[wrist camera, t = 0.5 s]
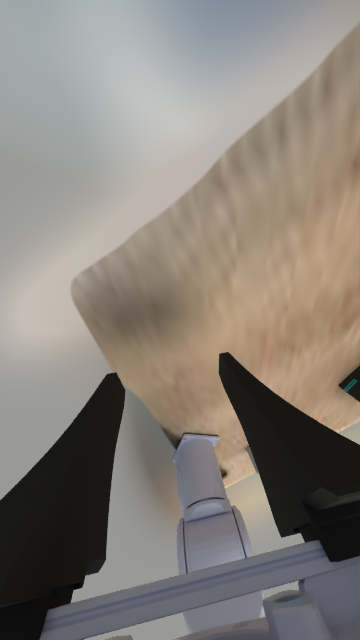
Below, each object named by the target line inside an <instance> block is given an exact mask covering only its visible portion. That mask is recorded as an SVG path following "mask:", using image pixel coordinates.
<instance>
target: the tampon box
mask: <svg viewBox="0 0 360 640" xmlns="http://www.w3.org/2000/svg"><path fill="white" fill-rule="evenodd" d="M339 386H340V387H341V388H342V389H343V390H344V391H346V392H347V393H348V394H350V395H351V396H352V397H354V398H355V399H356V400H358V401H359V402H360V367H359V368H358V369H357V370H356V371H355V372H353V373H352V374H351V375H350V376H349V377H348V378H347V379H346V380H345V381H344V382H343V383H342V384H340V385H339Z"/></svg>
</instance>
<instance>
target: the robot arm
mask: <svg viewBox="0 0 360 640" xmlns="http://www.w3.org/2000/svg"><path fill="white" fill-rule="evenodd" d="M219 375H220V378H221V381H222V384H223V387H224V389H225V391H226V393H227V395H228V398H229V400H230V402H231V404H232V406H233V408H234V410H235V412H236V414H237V417H238V419H239V421H240V423H241V425H242V428H243V431H244V433H245V436H246V438H247V441H248V444H249V447H250V449H251V452H252V455H253V458H254V460H255V463H256V466H257V469H258V472H259V475H260V478H261V480H262V483H263V486H264V489H265V493H266V496H267V499H268V502H269V505H270V508H271V511H272V514H273V517H274V520H275V523H276V526H277V528H278V531H279V533H280V535H281V537H286V536H290V535H294V534H298V533H301V534H302V536H303V539H304V541H305V543H302V544H298V545H294V546H291V547H287V548H283V549H279V550H275V551H271V552H267V553H263V554H259V555H256V556H254V554H253V550H252V546H251V543H250V540H249V536H248V533H247V530H246V526H245V523H244V521H243V518H242V515H241V513H240V511H239V510H238V509H237V508H236V507H235V506H231V505H230V501H229V499H227V495H226V492H225V488H224V484H223V480H222V476H221V473H220V469H219V465H218V462H217V458H216V454H215V450H214V448H215V446H216V445H217V443H218V441H219V440H220V438H219V436H208V435H195V434H184V435H183V437H182V440H181V442H180V444H179V446H178V448H177V450H176V452H175V454H174V456H173V458H172V462H173V463H176V467H177V468H176V469H177V481H178V482H177V483H178V497H179V504H180V507H181V509H182V511H183V515H184V518H181V519H180V522H179V524H178V527H177V556H178V569H179V575H178V576H175V577H171V578H167V579H163V580H159V581H155V582H152V583H148V584H144V585H140V586H136V587H132V588H129V589H125V590H120V591H117V592H113V593H109V594H105V595H101V596H97V597H93V598H89V599H86V600H82V601H78V602H74V603H71V598H72V594H73V590H76V589H80V588H82V587H83V584H84V579H85V576H86V575H90V574H94V573H98V572H99V570H100V569H101V567H102V566H103V564H104V562H105V560H106V545H107V528H108V513H109V502H110V490H111V480H112V471H113V463H114V455H115V448H116V443H117V438H118V433H119V429H120V424H121V419H122V413H123V409H124V401H125V389H124V387H123V385H122V383H121V381H120V379H119V377H118V375H117V373H111V374H107V375H106V376H105V378H104V379H103V380H102V382H101V383H100V385H99V386H98V388H97V389H96V391H95V392H94V394H93V395H92V397H91V398H90V399H89V401H88V402H87V403H86V405H85V406H84V408H83V409H82V410H81V412H80V413H79V414H78V416H77V417H76V418H75V419H74V421H73V422H72V423H71V425H70V426H69V427H68V428H67V430H66V431H65V432H64V433H63V434H62V436H61V437H60V438H59V439H58V440H57V441H56V443H55V444H54V445H53V446H52V447H51V448H50V450H49V451H48V452H47V453H46V454H45V455H44V456H43V457H42V458H41V459H40V460H39V462H38V463H37V464H36V465H35V466H34V467H33V468H32V469H31V470H30V471H29V472H28V473H27V474H26V475H25V477H23V478H22V479H21V481H19V482H18V483H17V485H15V486H14V488H12V489H11V491H9V492H8V493H7V494H6V495H5V497H3V498H2V499H1V500H0V640H83V639H86V638H89V637H93V636H97V635H100V634H104V633H108V632H111V631H115V630H119V629H122V628H126V627H130V626H133V625H136V624H141V623H144V622H148V621H151V620H155V619H159V618H163V617H166V616H170V615H173V614H177V613H181V612H183V615H184V618H185V620H186V625H187V628H188V631H189V633H190V634H189V635H186V636H183V637H180V638H177V639H174V640H360V445H359V444H357V443H355V442H353V441H351V440H349V439H348V438H346V437H344V436H342V435H340V434H338V433H337V432H335V431H333V430H331V429H330V428H328V427H326V426H324V425H323V424H321V423H319V422H318V421H316V420H315V419H313V418H311V417H310V416H308V415H306V414H305V413H303V412H302V411H300V410H298V409H297V408H295V407H294V406H292V405H291V404H290V403H288V402H287V401H285V400H284V399H282V398H281V397H280V396H278V395H277V394H275V393H274V392H273V391H271V390H270V389H269V388H268V387H266V386H265V385H264V384H263V383H261V382H260V381H259V380H258V379H257V378H255V377H254V376H253V375H252V374H251V373H250V372H249V371H247V370H246V369H245V368H244V367H243V366H242V365H241V364H240V363H239V362H238V361H237V360H236V359H235V358H234V357H233V356H232V355H231V354H230V353H228V352H226V353H221V354H219ZM298 580H299V582H298V585H299V591H297V590H287V591H282V592H279V593H277V594H275V595H272V596H270V597H268V598H266V599H264V593H263V590H265V589H269V588H272V587H276V586H280V585H283V584H287V583H291V582H295V581H298ZM264 614H265V615H266V617H264ZM106 640H133V639H132V636H131V635H128V636H116V637H112V638H109V639H106Z"/></svg>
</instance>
